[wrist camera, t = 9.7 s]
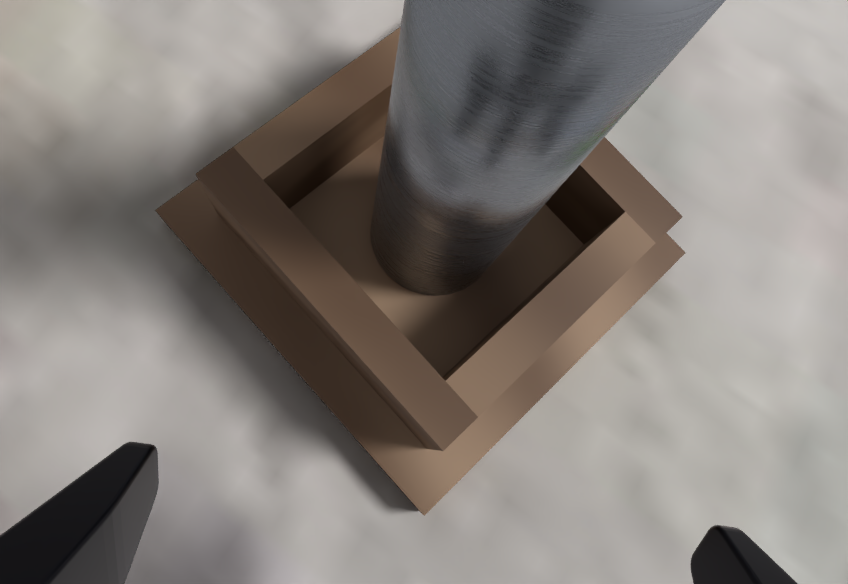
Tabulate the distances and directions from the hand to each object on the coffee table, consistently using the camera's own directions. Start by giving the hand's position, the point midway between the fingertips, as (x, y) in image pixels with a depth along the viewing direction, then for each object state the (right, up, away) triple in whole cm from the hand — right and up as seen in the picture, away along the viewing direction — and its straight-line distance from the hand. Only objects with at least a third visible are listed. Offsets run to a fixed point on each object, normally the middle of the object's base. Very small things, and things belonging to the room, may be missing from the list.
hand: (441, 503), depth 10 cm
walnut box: (0, +5, +10) cm, 12 cm away
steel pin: (0, +5, +9) cm, 11 cm away
